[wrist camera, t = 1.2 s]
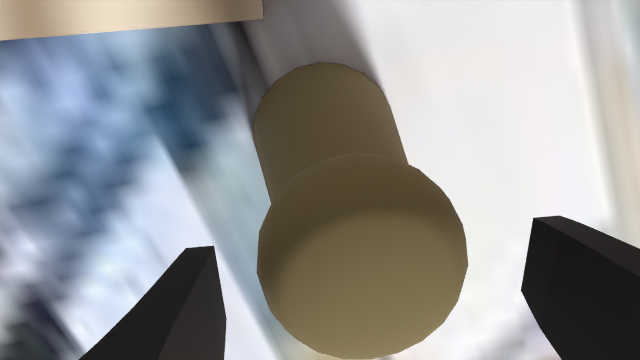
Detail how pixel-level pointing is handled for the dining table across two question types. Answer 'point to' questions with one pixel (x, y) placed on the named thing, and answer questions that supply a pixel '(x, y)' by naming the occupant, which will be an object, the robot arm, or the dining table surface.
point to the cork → (350, 220)
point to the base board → (115, 15)
